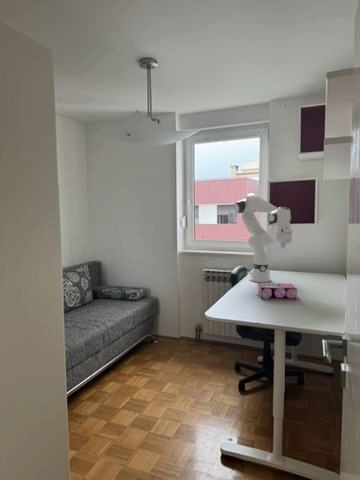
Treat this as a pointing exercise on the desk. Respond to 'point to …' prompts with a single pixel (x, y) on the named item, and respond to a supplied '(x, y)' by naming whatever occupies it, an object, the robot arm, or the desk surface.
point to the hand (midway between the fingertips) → (283, 248)
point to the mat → (278, 299)
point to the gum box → (277, 291)
